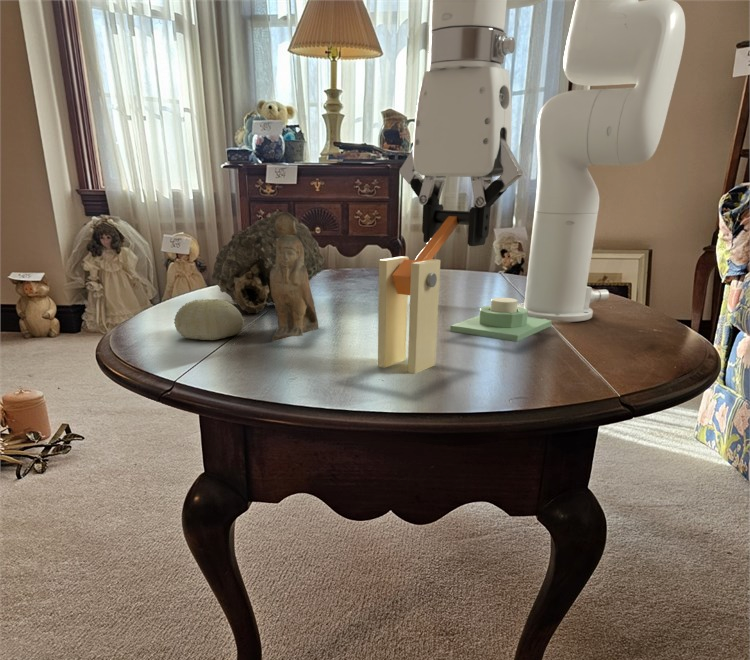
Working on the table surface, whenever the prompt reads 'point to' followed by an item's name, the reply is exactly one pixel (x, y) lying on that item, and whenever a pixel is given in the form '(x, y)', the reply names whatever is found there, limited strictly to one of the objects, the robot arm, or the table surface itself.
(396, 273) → the lever
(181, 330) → the sea urchin shell
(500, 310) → the button
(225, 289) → the rock
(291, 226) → the brown carved statuette
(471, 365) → the table surface
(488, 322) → the button block
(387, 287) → the bracket
